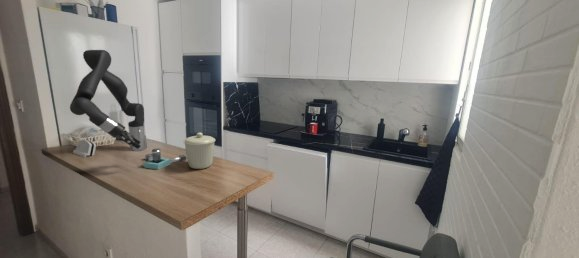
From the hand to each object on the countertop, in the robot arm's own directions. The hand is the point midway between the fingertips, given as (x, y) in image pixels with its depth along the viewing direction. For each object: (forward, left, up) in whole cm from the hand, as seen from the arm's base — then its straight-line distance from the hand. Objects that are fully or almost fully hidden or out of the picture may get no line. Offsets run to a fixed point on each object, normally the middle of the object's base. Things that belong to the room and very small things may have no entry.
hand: (139, 145), depth 136 cm
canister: (-14, +30, -14) cm, 36 cm away
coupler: (-6, +6, -14) cm, 16 cm away
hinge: (-8, -53, -14) cm, 55 cm away
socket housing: (-6, +6, -14) cm, 16 cm away
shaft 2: (-15, +11, -14) cm, 23 cm away
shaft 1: (-11, -4, -14) cm, 18 cm away
